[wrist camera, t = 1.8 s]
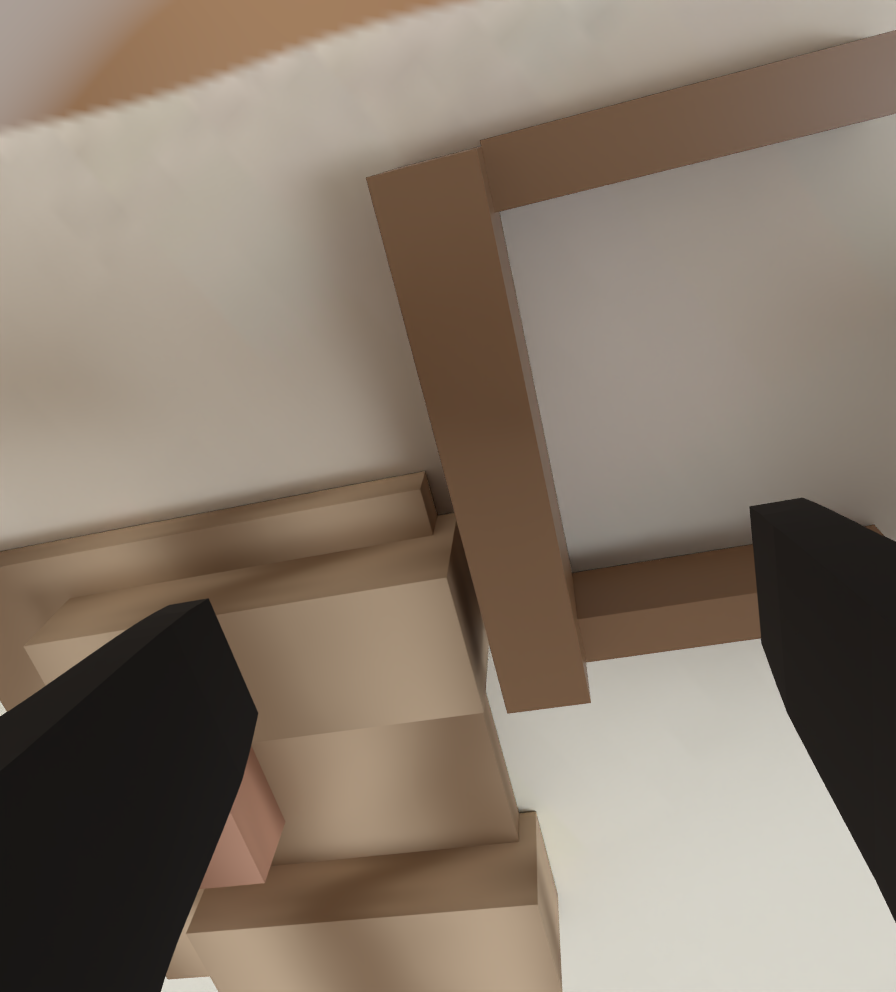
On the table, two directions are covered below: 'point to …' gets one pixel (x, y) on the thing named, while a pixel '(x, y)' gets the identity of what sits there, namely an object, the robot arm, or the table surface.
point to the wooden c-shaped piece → (507, 372)
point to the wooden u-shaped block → (326, 740)
